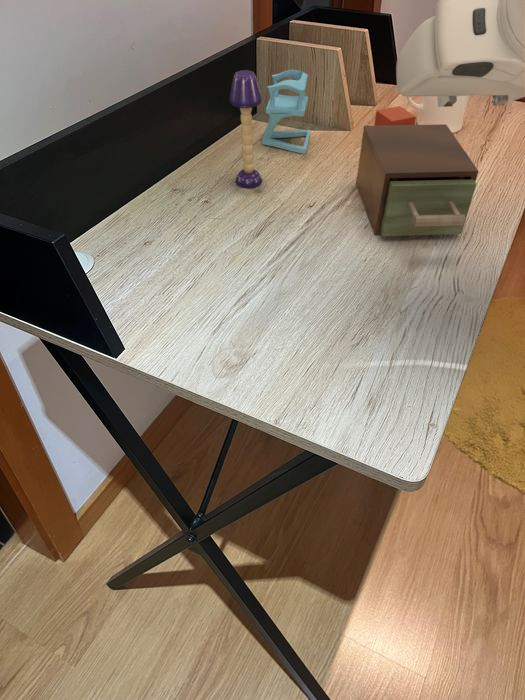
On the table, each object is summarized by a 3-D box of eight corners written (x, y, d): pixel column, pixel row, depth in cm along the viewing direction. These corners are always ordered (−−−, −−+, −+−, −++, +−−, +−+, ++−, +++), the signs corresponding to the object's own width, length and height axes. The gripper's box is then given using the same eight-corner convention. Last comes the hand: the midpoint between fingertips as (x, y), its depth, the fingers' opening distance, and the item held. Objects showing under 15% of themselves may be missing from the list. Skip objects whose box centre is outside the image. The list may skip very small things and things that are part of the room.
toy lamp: (232, 188, 91) (229, 79, 79) (231, 174, 94) (228, 67, 82) (262, 188, 91) (264, 78, 79) (260, 173, 94) (261, 66, 82)
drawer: (472, 254, 77) (489, 203, 72) (390, 256, 77) (400, 205, 71) (434, 186, 90) (446, 138, 85) (363, 187, 90) (370, 139, 84)
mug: (402, 132, 106) (415, 64, 97) (396, 113, 112) (408, 47, 103) (466, 134, 106) (484, 66, 97) (457, 115, 112) (473, 49, 103)
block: (372, 137, 104) (376, 110, 101) (394, 133, 106) (399, 105, 102) (387, 149, 101) (392, 121, 98) (410, 144, 103) (416, 116, 99)
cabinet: (460, 232, 83) (478, 170, 76) (374, 235, 82) (385, 173, 75) (432, 182, 93) (446, 124, 86) (355, 184, 92) (363, 125, 85)
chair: (265, 131, 106) (267, 62, 97) (310, 135, 105) (315, 66, 96) (259, 150, 100) (259, 78, 92) (306, 154, 99) (311, 82, 91)
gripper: (653, -8, 50) (561, 70, 63) (423, -8, 48) (380, 72, 62) (656, 64, 50) (563, 126, 63) (426, 66, 48) (382, 129, 62)
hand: (471, 99), depth 63 cm, fingers open, 5 cm apart
